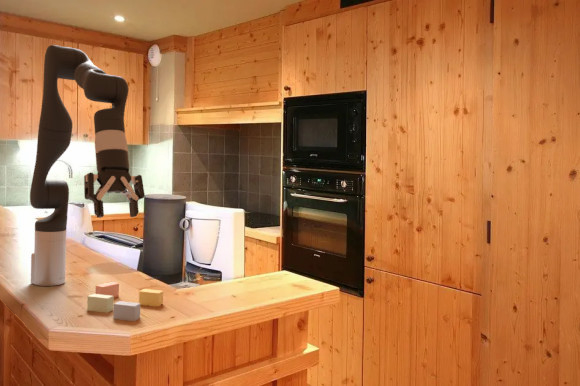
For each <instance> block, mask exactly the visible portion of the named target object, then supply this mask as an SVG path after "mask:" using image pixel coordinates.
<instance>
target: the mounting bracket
mask: <svg viewBox="0 0 580 386" xmlns="http://www.w3.org/2000/svg"><path fill="white" fill-rule="evenodd" d="M178 286H181V287H182V288H190V287H191V288H196V287H199V286H201V284H199V283H194V282H188V281H187V282H183V283H180V284H178Z"/></svg>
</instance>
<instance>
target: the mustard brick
mask: <svg viewBox="0 0 580 386" xmlns="http://www.w3.org/2000/svg"><path fill="white" fill-rule="evenodd" d="M138 303H140V306H147V305H149V307H156V306H159V307H161V306H162V305H163V303H164V290H159V289H152V288H151V289H150V288H143V289H141V290H139V291H138ZM161 304H162V305H161Z"/></svg>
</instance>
